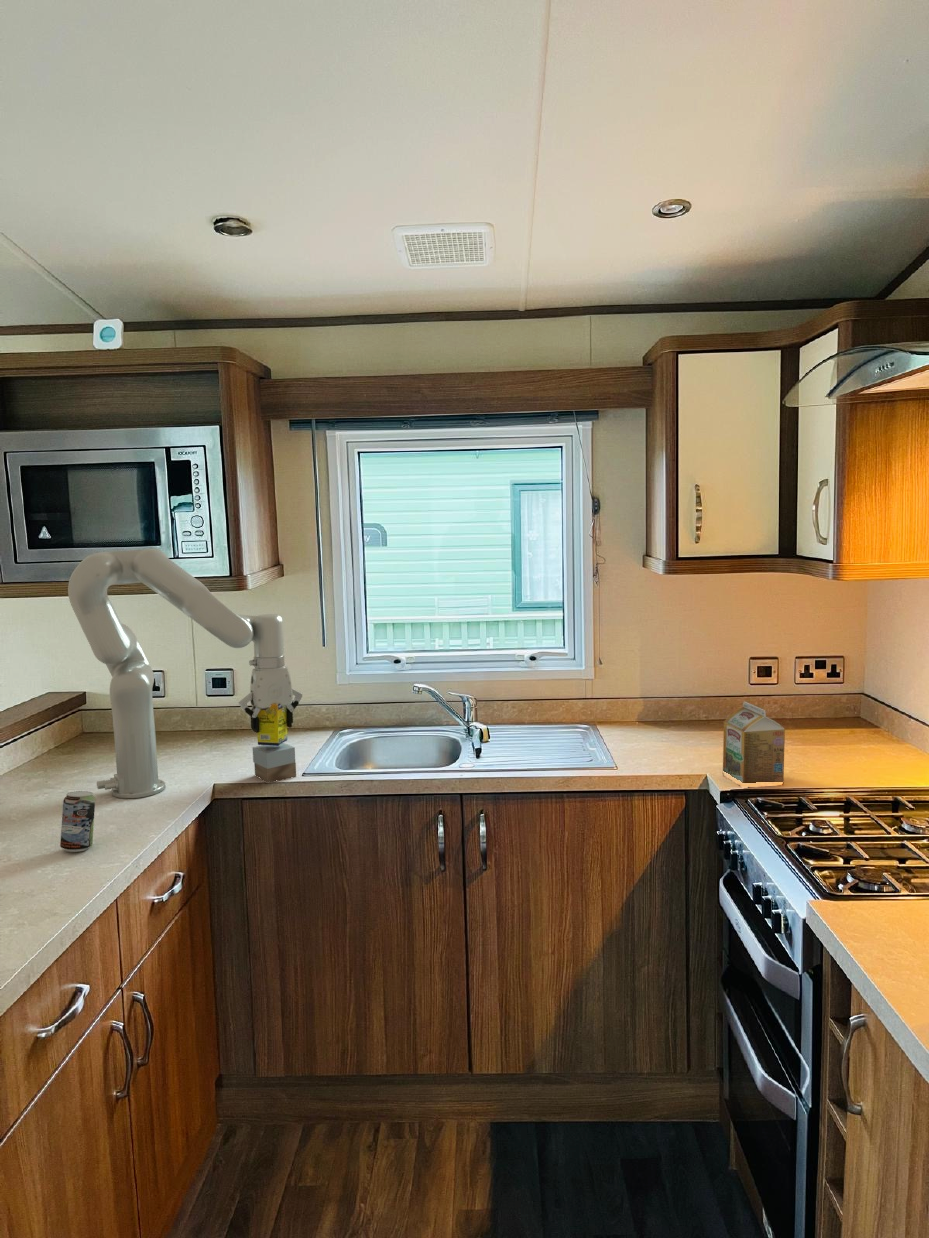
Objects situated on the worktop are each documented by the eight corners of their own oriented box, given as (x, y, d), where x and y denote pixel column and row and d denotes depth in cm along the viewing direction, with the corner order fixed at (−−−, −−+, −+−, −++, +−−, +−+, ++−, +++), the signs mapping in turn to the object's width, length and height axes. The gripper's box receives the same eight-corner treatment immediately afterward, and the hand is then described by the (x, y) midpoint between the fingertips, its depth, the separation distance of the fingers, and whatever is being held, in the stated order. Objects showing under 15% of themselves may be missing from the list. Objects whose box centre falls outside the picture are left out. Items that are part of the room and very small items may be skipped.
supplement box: (279, 746, 217) (277, 704, 215) (257, 745, 218) (255, 703, 216) (288, 740, 222) (286, 699, 221) (267, 739, 224) (265, 698, 222)
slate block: (267, 768, 216) (266, 753, 215) (253, 762, 222) (252, 747, 221) (295, 762, 221) (294, 747, 220) (280, 755, 227) (280, 741, 226)
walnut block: (267, 783, 216) (266, 768, 216) (255, 776, 223) (254, 761, 222) (296, 777, 221) (295, 762, 221) (283, 770, 227) (282, 755, 227)
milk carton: (783, 785, 206) (785, 709, 204) (743, 788, 205) (744, 711, 202) (761, 772, 217) (763, 700, 214) (722, 775, 215) (724, 702, 213)
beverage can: (54, 853, 173) (49, 797, 171) (81, 840, 180) (77, 785, 178) (77, 857, 171) (73, 800, 169) (105, 844, 177) (100, 788, 176)
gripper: (241, 668, 210) (244, 737, 212) (307, 661, 219) (309, 726, 221) (231, 664, 216) (234, 731, 218) (295, 657, 225) (298, 721, 228)
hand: (272, 728), depth 220 cm, fingers closed on supplement box, 8 cm apart
